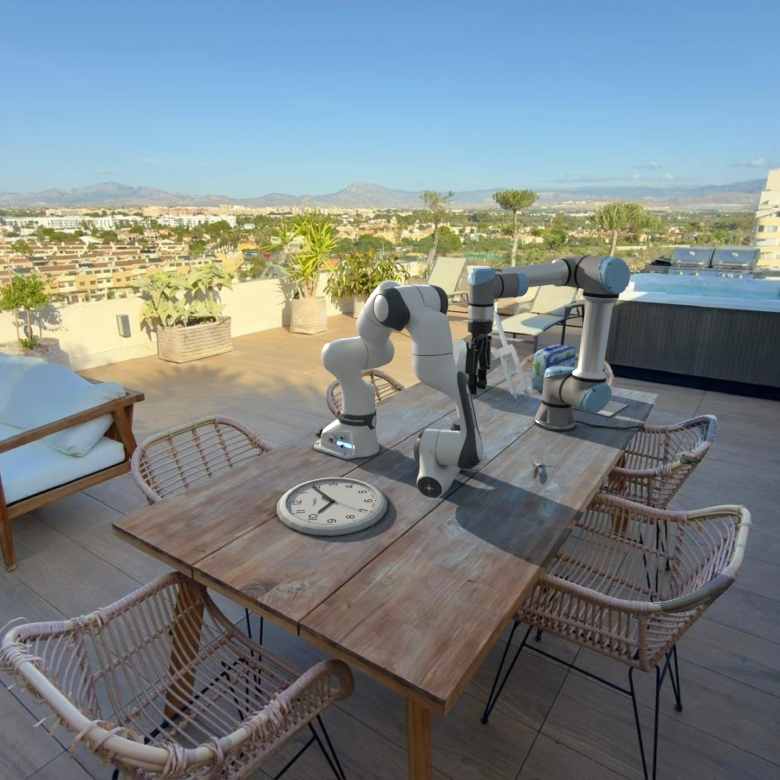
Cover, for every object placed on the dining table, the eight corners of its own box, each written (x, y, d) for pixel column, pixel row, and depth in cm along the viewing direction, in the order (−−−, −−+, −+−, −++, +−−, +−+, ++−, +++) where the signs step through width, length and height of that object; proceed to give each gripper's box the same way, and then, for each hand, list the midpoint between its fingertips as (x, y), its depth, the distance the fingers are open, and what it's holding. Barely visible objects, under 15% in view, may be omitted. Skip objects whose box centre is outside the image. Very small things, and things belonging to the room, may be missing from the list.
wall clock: (392, 527, 129) (268, 531, 127) (391, 533, 130) (269, 537, 127) (383, 473, 158) (282, 475, 155) (383, 478, 158) (282, 480, 156)
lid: (473, 379, 170) (473, 374, 170) (490, 383, 166) (490, 378, 166) (463, 384, 166) (463, 379, 165) (481, 387, 162) (481, 382, 161)
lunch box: (547, 397, 237) (552, 352, 231) (526, 391, 245) (531, 348, 238) (574, 386, 255) (580, 344, 249) (554, 381, 262) (559, 340, 256)
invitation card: (608, 416, 214) (573, 407, 224) (608, 416, 214) (573, 408, 224) (628, 404, 229) (594, 396, 238) (628, 405, 229) (594, 397, 238)
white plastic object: (461, 429, 252) (437, 405, 227) (444, 352, 274) (420, 323, 250) (535, 404, 240) (518, 377, 215) (510, 326, 262) (492, 293, 237)
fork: (529, 479, 159) (530, 473, 158) (534, 459, 173) (535, 453, 173) (538, 481, 158) (539, 475, 158) (543, 460, 172) (543, 454, 172)
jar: (465, 472, 164) (468, 426, 159) (448, 470, 164) (450, 425, 160) (465, 464, 169) (468, 420, 164) (448, 463, 169) (451, 419, 165)
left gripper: (481, 461, 148) (492, 443, 161) (414, 448, 156) (428, 432, 168) (480, 481, 150) (490, 462, 163) (413, 468, 158) (428, 451, 170)
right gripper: (482, 313, 169) (479, 382, 176) (454, 323, 154) (452, 397, 161) (504, 316, 165) (499, 385, 172) (478, 325, 150) (474, 401, 157)
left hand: (458, 447), depth 165 cm, fingers closed on jar, 5 cm apart
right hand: (476, 391), depth 167 cm, fingers closed on lid, 6 cm apart
